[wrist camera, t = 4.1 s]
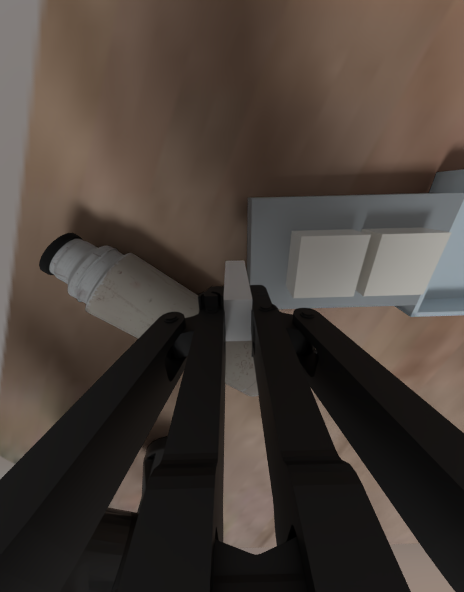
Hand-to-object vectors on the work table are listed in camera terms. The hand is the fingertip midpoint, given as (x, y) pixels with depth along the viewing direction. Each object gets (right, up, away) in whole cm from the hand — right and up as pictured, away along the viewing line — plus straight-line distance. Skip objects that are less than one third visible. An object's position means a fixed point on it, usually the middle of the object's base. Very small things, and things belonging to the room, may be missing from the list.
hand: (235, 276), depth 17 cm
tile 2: (+9, +2, +5) cm, 10 cm away
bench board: (+12, +4, +9) cm, 15 cm away
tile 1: (+16, +3, +5) cm, 17 cm away
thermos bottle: (+4, -12, +12) cm, 18 cm away
